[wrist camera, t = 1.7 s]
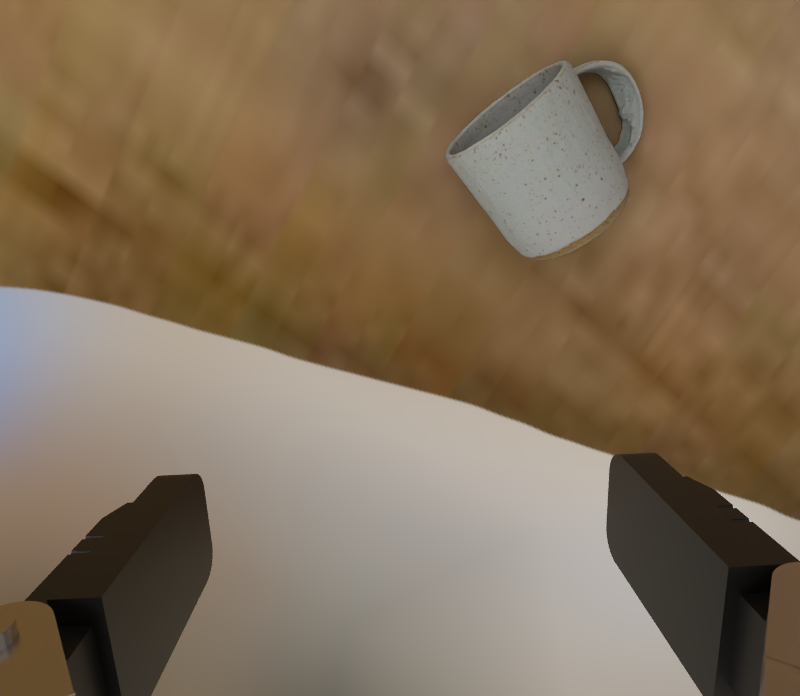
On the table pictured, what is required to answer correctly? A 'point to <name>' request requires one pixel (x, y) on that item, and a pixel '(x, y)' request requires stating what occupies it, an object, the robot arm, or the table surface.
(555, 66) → the ceramic mug
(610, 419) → the table surface
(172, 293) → the table surface
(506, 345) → the table surface
